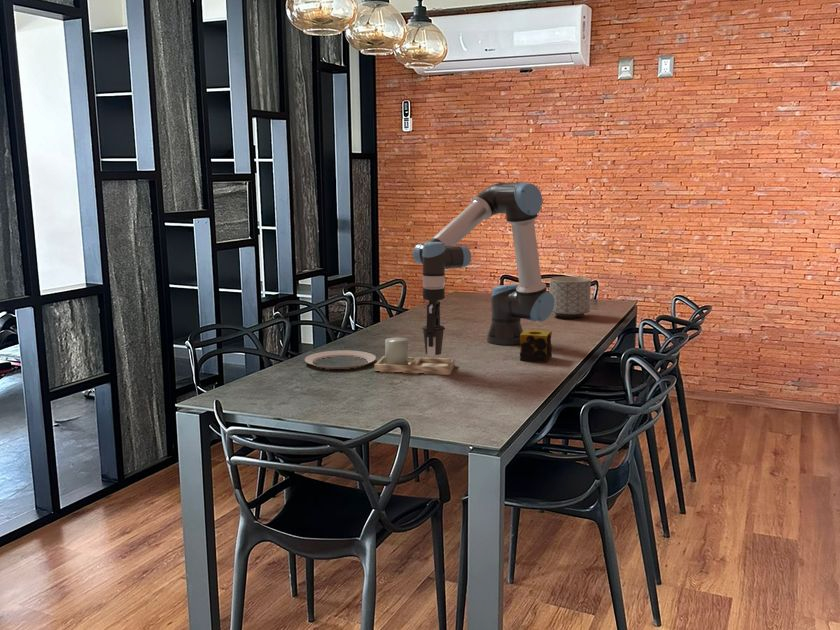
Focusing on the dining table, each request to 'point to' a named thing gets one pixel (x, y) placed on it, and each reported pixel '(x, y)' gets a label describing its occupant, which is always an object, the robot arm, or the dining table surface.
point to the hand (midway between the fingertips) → (433, 352)
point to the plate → (320, 355)
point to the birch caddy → (418, 366)
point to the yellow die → (535, 346)
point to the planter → (570, 296)
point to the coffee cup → (438, 338)
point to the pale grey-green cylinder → (396, 351)
